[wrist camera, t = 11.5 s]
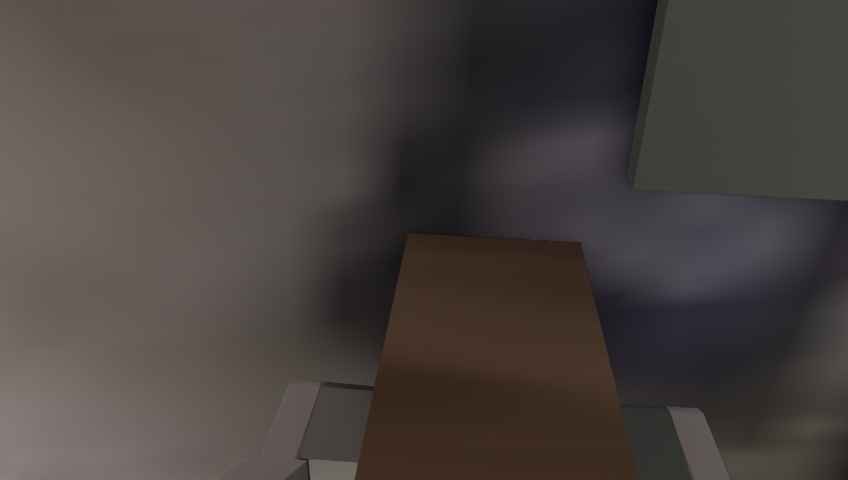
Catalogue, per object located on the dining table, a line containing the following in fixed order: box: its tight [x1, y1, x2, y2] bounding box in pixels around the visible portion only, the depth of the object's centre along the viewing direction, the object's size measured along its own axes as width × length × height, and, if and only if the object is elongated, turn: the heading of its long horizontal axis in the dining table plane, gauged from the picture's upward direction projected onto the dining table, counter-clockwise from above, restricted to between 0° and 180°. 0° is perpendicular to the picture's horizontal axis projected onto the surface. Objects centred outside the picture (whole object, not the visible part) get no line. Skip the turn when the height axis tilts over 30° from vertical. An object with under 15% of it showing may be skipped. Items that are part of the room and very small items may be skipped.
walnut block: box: [354, 233, 639, 480], centre depth 10 cm, size 3×3×8 cm
